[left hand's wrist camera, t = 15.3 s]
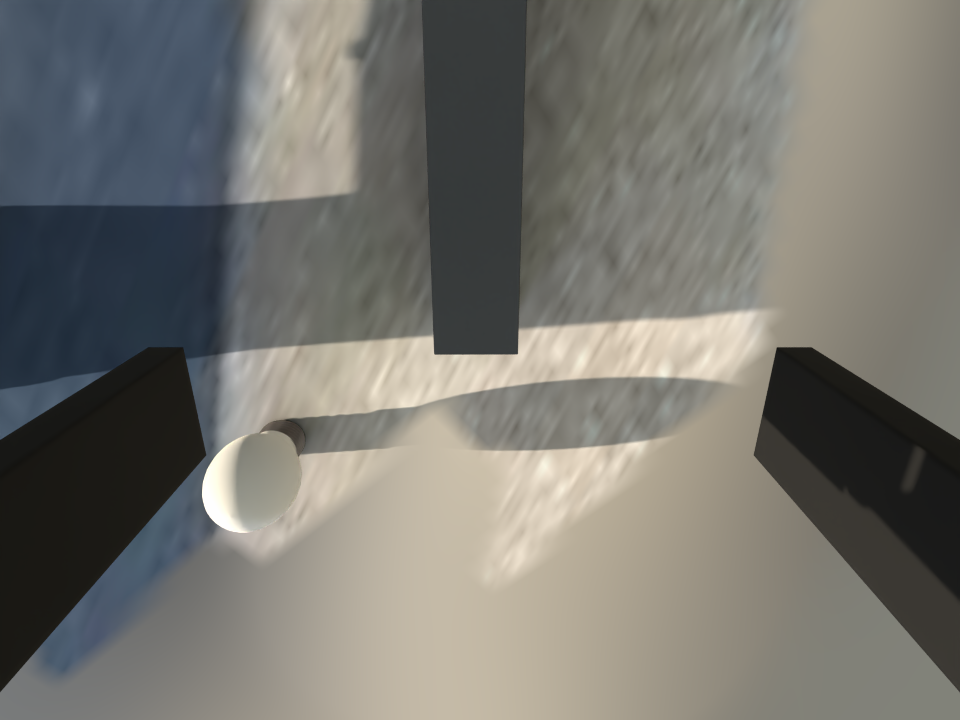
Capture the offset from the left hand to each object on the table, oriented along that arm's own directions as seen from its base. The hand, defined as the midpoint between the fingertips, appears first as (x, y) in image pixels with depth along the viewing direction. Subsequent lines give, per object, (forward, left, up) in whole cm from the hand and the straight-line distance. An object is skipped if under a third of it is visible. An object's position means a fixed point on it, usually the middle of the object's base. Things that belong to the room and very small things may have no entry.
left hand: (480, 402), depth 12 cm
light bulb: (-25, +3, -31) cm, 40 cm away
